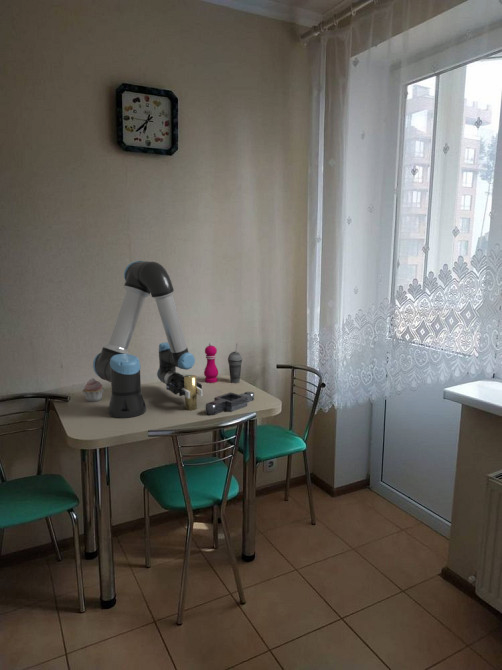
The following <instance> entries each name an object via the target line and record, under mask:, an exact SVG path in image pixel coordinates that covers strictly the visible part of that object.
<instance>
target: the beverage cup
mask: <svg viewBox="0 0 502 670" xmlns="http://www.w3.org/2000/svg"><path fill="white" fill-rule="evenodd" d="M235 345H236V346H235V351H231V352H230V353H229V354H228V357H227V363H228V367H229V379H230V383H232V384H239V383H240V381H241V373H242V371H241V369H242V363H243V357H242V354H241V353H240V352H238V342H237V343H236V344H235Z"/></svg>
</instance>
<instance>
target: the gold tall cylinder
mask: <svg viewBox="0 0 502 670" xmlns="http://www.w3.org/2000/svg"><path fill="white" fill-rule="evenodd" d="M183 376H184V386H185V389H186V390H188V391H189V392H190V398H189V399H188V398H187V397H185V396H184V410H186V411H195V410H197V409H198V398H197V395H198V394H197V386H196V382H197V375H196V374H195V375H194V374H188V375H183Z"/></svg>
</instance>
